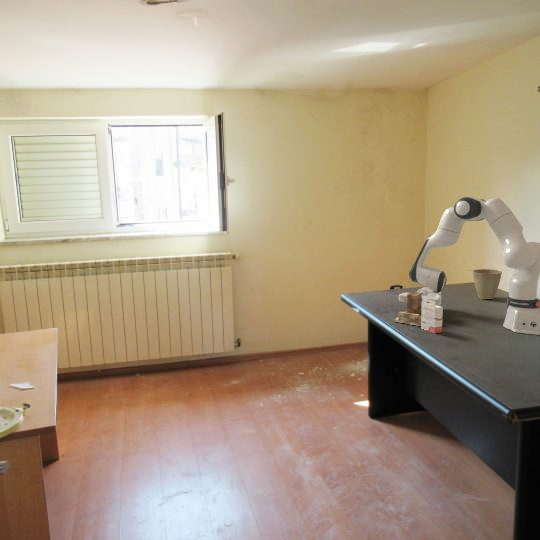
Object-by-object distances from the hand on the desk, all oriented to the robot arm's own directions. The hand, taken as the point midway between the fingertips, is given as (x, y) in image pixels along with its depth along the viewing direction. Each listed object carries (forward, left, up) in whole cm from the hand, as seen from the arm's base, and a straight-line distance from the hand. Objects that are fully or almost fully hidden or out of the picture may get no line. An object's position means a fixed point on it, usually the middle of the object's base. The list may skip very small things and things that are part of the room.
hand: (414, 302), depth 229 cm
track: (0, 0, -9) cm, 9 cm away
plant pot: (-18, -64, -9) cm, 67 cm away
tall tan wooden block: (0, 0, -8) cm, 8 cm away
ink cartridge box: (-12, +10, -9) cm, 18 cm away
